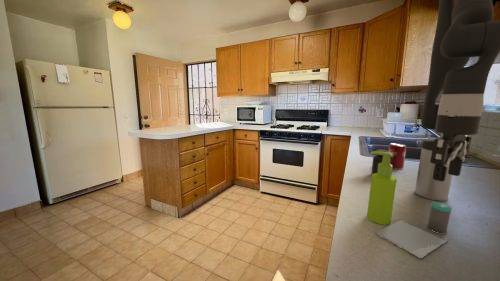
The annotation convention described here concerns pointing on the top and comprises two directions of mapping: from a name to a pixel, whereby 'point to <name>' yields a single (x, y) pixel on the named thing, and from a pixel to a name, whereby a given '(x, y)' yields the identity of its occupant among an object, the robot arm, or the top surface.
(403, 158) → the soda can
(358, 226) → the top surface
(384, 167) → the soap dispenser
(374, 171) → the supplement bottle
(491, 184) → the top surface
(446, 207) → the marker
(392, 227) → the notepad
